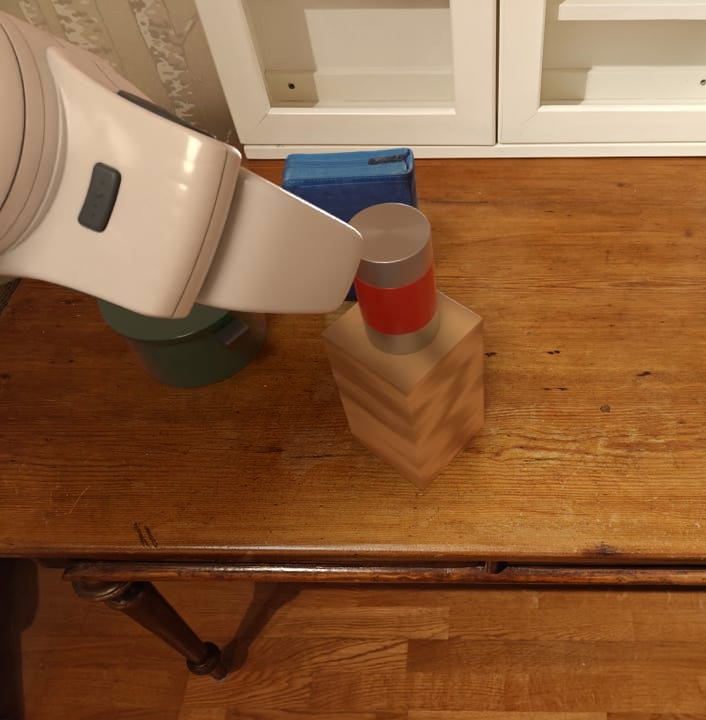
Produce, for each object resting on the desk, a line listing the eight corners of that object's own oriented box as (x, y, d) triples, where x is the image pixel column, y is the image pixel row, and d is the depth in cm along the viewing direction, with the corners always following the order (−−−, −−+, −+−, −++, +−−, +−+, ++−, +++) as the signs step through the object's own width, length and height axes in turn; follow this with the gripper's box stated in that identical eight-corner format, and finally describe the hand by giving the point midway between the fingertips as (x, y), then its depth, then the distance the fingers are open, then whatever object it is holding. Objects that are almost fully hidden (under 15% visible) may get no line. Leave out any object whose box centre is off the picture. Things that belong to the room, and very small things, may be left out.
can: (404, 368, 58) (389, 276, 49) (349, 330, 60) (325, 236, 52) (455, 320, 61) (449, 226, 52) (399, 286, 63) (385, 191, 55)
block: (423, 491, 71) (406, 392, 56) (353, 438, 75) (320, 333, 60) (484, 425, 76) (483, 318, 61) (415, 378, 79) (398, 267, 65)
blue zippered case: (431, 271, 89) (419, 138, 73) (432, 302, 86) (419, 170, 70) (318, 277, 89) (281, 144, 73) (315, 308, 86) (275, 177, 70)
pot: (201, 425, 76) (169, 375, 68) (97, 337, 83) (58, 284, 76) (309, 334, 83) (291, 280, 76) (205, 261, 91) (179, 205, 83)
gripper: (-166, 146, 29) (111, 209, 42) (189, 339, 23) (388, 344, 36) (-129, -3, 28) (143, 109, 41) (252, 155, 22) (433, 228, 35)
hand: (259, 219), depth 39 cm, fingers open, 8 cm apart
